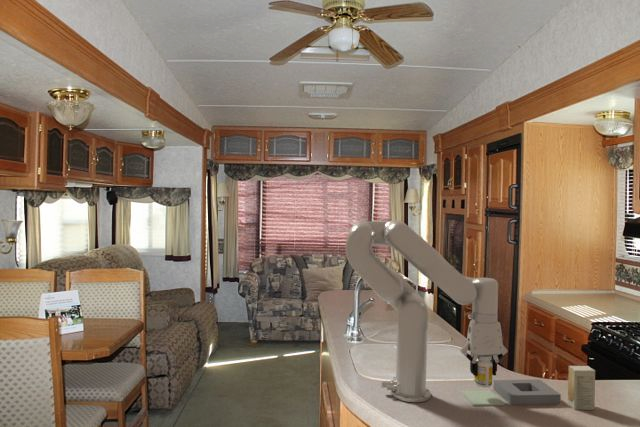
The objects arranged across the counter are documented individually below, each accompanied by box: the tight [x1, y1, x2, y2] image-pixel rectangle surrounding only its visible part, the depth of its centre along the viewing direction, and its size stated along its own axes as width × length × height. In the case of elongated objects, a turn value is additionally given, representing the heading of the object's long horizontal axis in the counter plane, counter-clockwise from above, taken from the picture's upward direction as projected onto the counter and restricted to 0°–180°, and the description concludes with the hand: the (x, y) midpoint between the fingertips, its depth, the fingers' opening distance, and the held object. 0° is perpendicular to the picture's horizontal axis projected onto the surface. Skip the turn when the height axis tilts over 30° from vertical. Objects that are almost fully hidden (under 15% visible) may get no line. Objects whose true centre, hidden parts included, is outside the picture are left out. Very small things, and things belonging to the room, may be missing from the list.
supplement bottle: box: [473, 355, 493, 388], centre depth 151 cm, size 5×5×10 cm
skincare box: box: [567, 365, 596, 411], centre depth 146 cm, size 6×4×12 cm
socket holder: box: [492, 379, 562, 406], centre depth 153 cm, size 16×12×3 cm
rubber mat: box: [460, 389, 506, 407], centre depth 151 cm, size 10×10×1 cm
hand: (483, 373), depth 151 cm, fingers closed on supplement bottle, 5 cm apart
